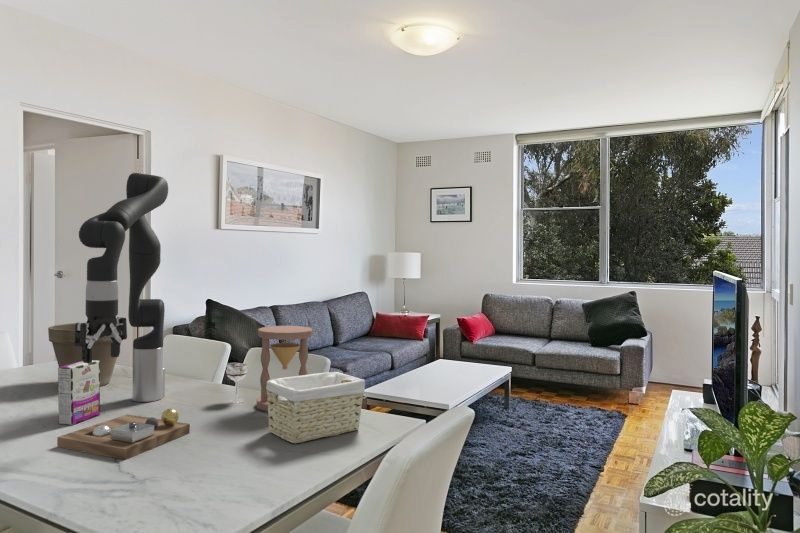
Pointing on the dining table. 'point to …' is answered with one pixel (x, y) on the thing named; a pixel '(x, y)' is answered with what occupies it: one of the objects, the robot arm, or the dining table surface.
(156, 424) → the black rubber ball
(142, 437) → the steel cover
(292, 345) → the hourglass
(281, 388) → the storage basket
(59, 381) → the candy bar box
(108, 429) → the steel ball
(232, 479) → the dining table surface
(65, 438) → the walnut board
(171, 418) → the brass ball
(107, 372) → the plant pot
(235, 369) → the wineglass
